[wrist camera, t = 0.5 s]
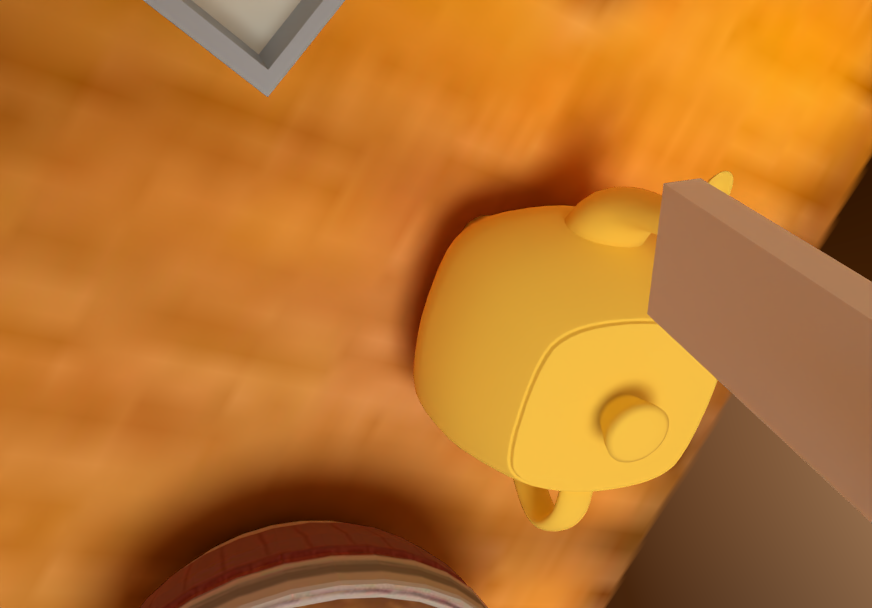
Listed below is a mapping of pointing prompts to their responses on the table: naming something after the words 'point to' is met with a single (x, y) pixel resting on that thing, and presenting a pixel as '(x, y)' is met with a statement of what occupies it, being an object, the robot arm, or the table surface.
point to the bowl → (315, 572)
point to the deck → (251, 32)
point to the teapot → (559, 352)
